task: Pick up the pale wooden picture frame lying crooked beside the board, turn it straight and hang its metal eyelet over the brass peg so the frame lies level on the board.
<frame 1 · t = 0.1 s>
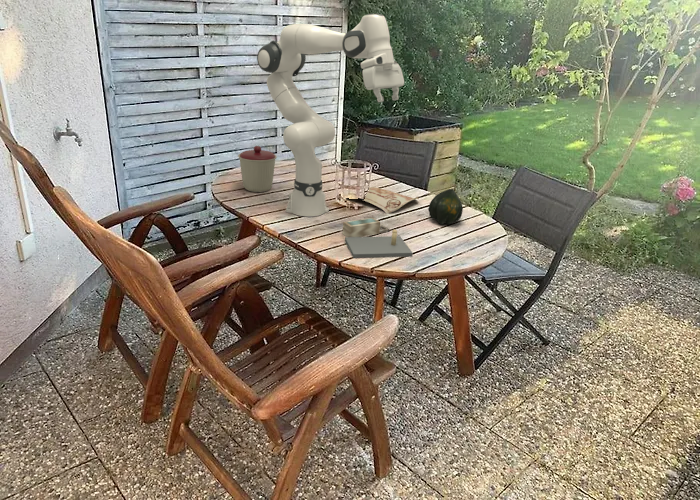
hand: (388, 100, 190), 52 cm above the table, tool tilted 20°, fingers open, 8 cm apart
canister: (257, 189, 257), on the table
board: (377, 248, 198), on the table
squash: (443, 221, 231), on the table
frame: (361, 233, 211), on the table
poster: (382, 202, 253), on the table
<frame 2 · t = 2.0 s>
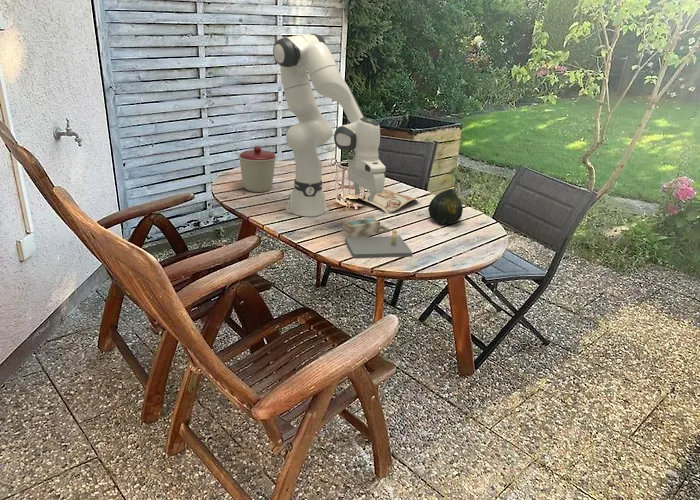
hand: (363, 197, 205), 15 cm above the table, tool pointing down, fingers open, 8 cm apart
nothing on the table moved.
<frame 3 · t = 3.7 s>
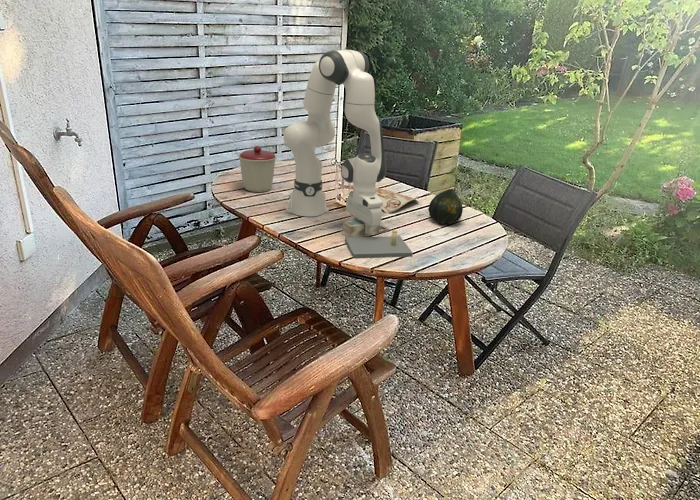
hand: (361, 229, 210), 2 cm above the table, tool pointing down, fingers closed on frame, 5 cm apart
frame: (361, 233, 211), on the table, touching gripper
everything else where it was.
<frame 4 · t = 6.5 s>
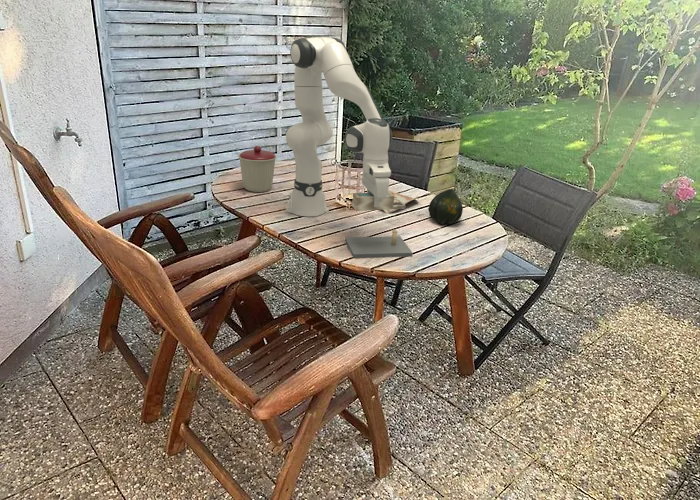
hand: (373, 203, 192), 17 cm above the table, tool pointing down, fingers closed on frame, 5 cm apart
frame: (372, 207, 193), point 15 cm above the table, touching gripper
everything else where it was.
when the fingers open (5 cm above the table, at t = 9.4 s): frame drops 1 cm, resting on board.
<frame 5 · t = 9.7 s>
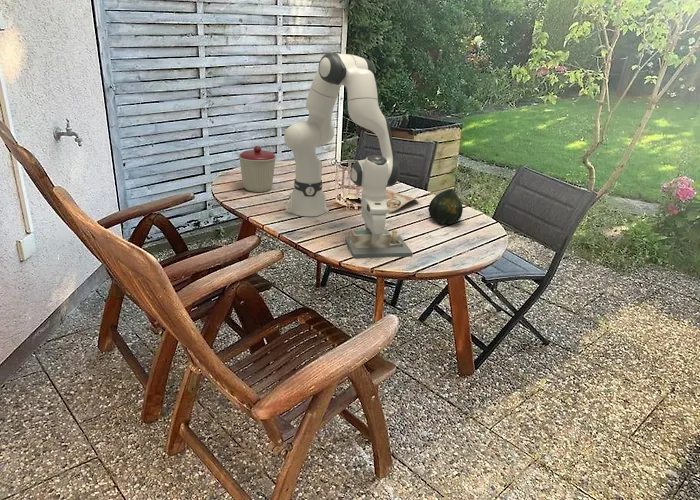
hand: (370, 237, 195), 5 cm above the table, tool pointing down, fingers open, 8 cm apart
frame: (369, 244, 197), point 1 cm above the table, touching board
everything else where it was.
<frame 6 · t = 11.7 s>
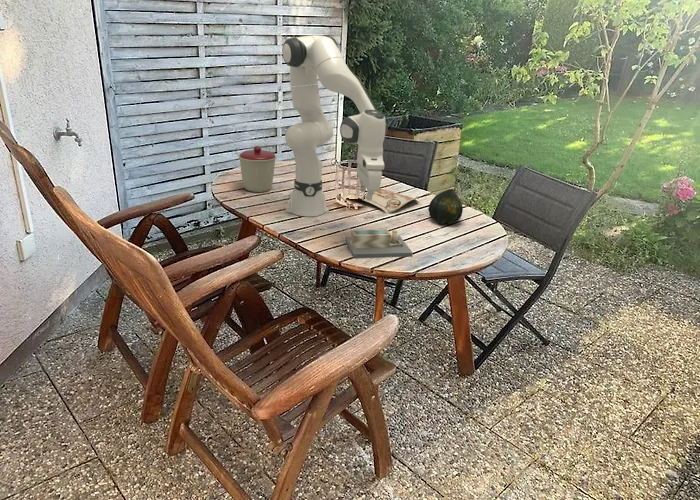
hand: (365, 195, 191), 20 cm above the table, tool pointing down, fingers open, 8 cm apart
nothing on the table moved.
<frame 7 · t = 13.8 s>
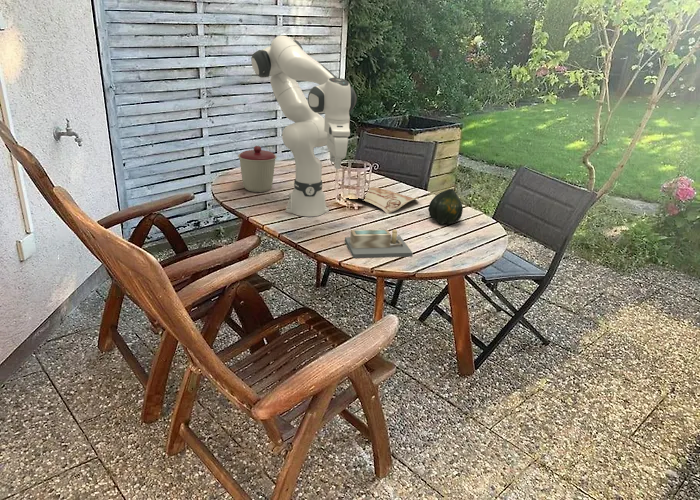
hand: (334, 165, 192), 29 cm above the table, tool pointing down, fingers open, 8 cm apart
nothing on the table moved.
at the end: frame 0.0 cm from the target spot on the board, point 1.5 cm above the board's base; frame tilted 0°; the gripper is holding nothing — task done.
